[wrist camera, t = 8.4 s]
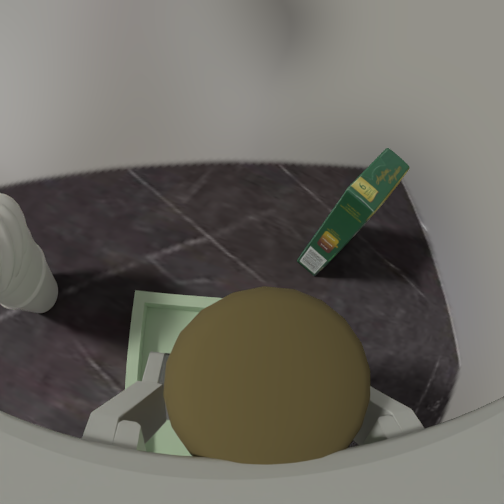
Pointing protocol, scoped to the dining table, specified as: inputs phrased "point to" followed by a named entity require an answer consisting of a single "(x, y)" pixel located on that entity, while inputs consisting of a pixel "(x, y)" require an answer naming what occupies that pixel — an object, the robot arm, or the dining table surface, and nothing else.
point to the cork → (267, 379)
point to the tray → (159, 346)
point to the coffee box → (354, 210)
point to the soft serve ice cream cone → (22, 264)
